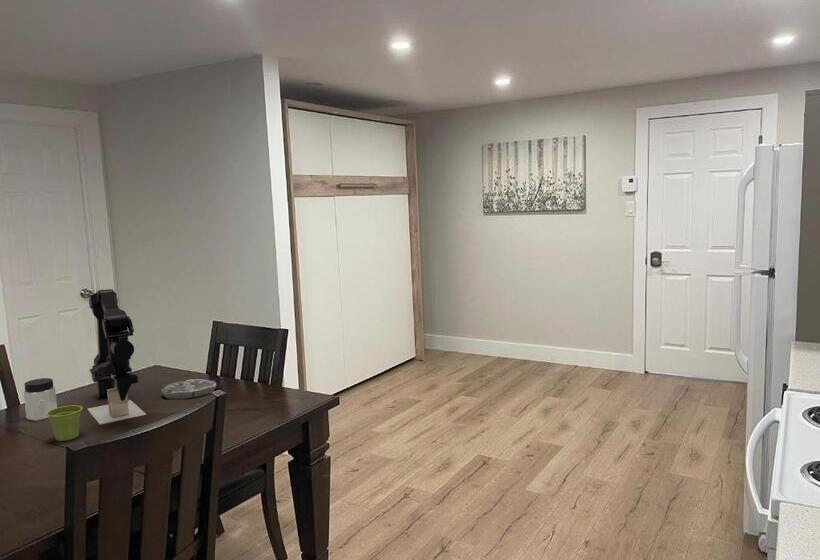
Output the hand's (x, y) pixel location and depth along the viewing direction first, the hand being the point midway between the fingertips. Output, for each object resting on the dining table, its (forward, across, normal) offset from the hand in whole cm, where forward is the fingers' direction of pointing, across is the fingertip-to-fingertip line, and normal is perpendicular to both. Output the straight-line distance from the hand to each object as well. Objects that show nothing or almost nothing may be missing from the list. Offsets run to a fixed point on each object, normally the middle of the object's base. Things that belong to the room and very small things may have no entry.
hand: (122, 400), depth 196 cm
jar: (+7, -24, -20) cm, 32 cm away
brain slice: (+8, -17, +26) cm, 32 cm away
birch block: (+7, -7, 0) cm, 10 cm away
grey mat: (+7, -11, 0) cm, 13 cm away
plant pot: (+7, +4, -17) cm, 19 cm away
